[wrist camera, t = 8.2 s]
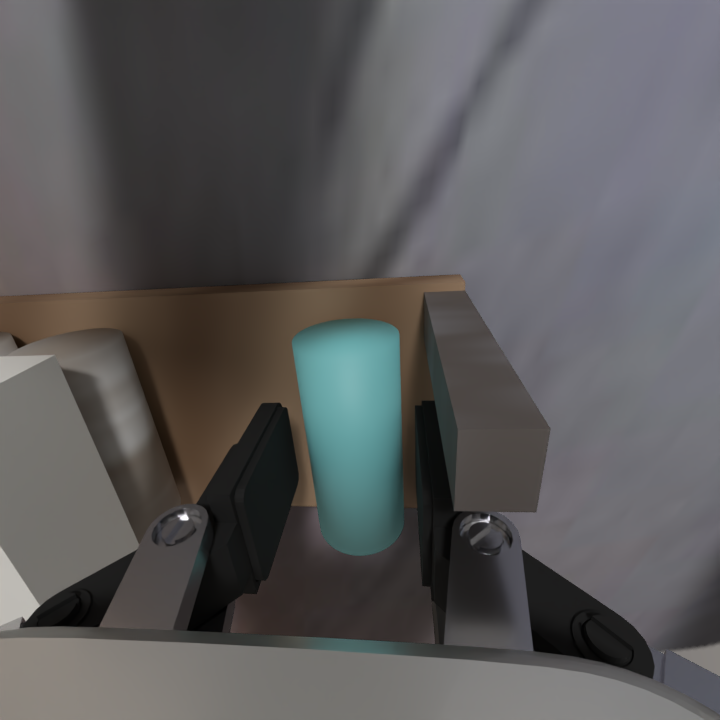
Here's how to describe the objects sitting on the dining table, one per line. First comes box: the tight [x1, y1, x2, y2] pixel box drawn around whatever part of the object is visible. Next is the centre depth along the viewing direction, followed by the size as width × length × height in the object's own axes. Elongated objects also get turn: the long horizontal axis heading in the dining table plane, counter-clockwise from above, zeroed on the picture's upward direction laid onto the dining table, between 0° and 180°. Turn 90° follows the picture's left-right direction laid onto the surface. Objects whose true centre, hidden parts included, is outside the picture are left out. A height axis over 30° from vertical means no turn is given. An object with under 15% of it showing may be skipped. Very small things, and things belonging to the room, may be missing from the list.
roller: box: [292, 318, 404, 556], centre depth 12 cm, size 7×3×3 cm, turn 4°
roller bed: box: [0, 275, 550, 645], centre depth 11 cm, size 18×9×8 cm, turn 94°
